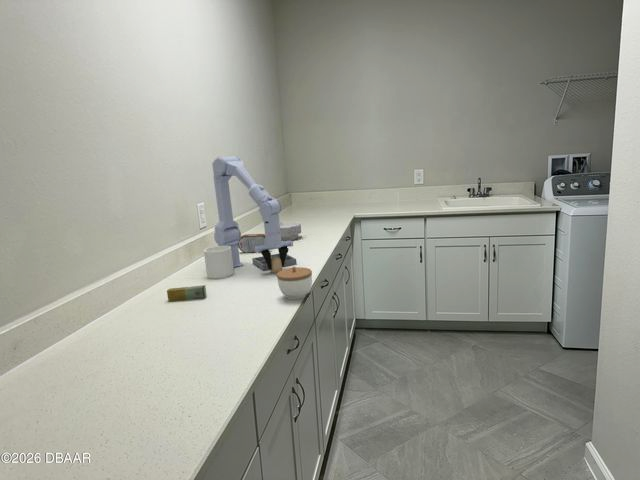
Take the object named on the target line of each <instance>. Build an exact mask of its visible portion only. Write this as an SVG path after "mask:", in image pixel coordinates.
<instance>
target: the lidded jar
mask: <svg viewBox="0 0 640 480" xmlns="http://www.w3.org/2000/svg"><path fill="white" fill-rule="evenodd" d="M312 275H313V271H312V269H311V268H307V267H300V266H299V267H298V266H297V267H296V266H292V267H288V268H284V269H282V270H281V271H279V272H278V273H276V277H277V283H278V284H277V285H278V288H279V291H280V293H281V294H282V295H283V296H285V297H286V299H288V300H292V301H293V300H294V301H295V300H302V299H304V298H306V297H307V295H308V294H309V293H310V291H311V288H312V285H313V284H312V283H313V276H312Z"/></svg>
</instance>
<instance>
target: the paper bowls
mask: <svg viewBox="0 0 640 480" xmlns="http://www.w3.org/2000/svg"><path fill="white" fill-rule="evenodd" d="M279 223H280V233H281V242H283V241H294V240H296V239H297V238H298V236H299V235H300V234H301V233H302V225H301V222H297V221H283V222H282V221H281V222H279Z"/></svg>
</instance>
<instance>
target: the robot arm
mask: <svg viewBox="0 0 640 480" xmlns="http://www.w3.org/2000/svg"><path fill="white" fill-rule="evenodd" d="M212 172H213V184H214V190H215V192H214V193H215V198H216V204H217V206H216V207H217V214H218V222H217V223H216V225H215V226H214V236H213V238H214V241H215V243H216V244H217V246H230V247H231V251H232V259H233V267H234V268H235V267H241V266H242V267H243V266H244V264H243V262H241V259H240V251H239V250H240V249H239V247H238V243H239V240H240V238H241V236H242V232H241V229H240V227H239V223H238V222H237V221H235V220H234V216H233V209H232V208H233V206H232V199H231V192H230V184H229V180H231V179H232V177H233V176H234V177H236V178H237V179H238V180H239V181H240V182H241V183H242V184H243V185H244V186H245V187H246V189H247V190H248V195H249V197H251V199H252V200H253V201H254V202H255V204H256V205H257V207H259V208H258V212H259V214H260V216H261V219H262V221H263V227H264V234H265V238H266V244H264V245H260V246H256V247H254V248H255V252H256V254H257V253H258V252H259V253H260V254H261V255H262V256H263V257H264V258H265V261H266V263H267V266H268V269H270V271H271V269H272V265H271V255H272V252H270V251H272V250H276V249H277V250H278V254H279V255H280V259H281V261H282V268H285V267H284V264H285V259H286V255H288V252H289V247H294V240H291V241H281V233H280V223H281V222H280V212H281V211H282V204H281V202H280V200H279V199H277V198H274V197H273V196H272V195H270V194H269V192H268V191H266V189H265V187H264V185H262V184H257V183H256V182H255V180H254V179H253V178H252V176H251V175H250V173H249V172H248V171H247V169H246V168H245V163H244V161H243V160H242V159H241V157H240V156H238V155H233V156H232V155H231V156H218V157H217V156H216V158H215V159H214V160H213V162H212Z"/></svg>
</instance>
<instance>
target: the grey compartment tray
mask: <svg viewBox="0 0 640 480" xmlns="http://www.w3.org/2000/svg"><path fill="white" fill-rule="evenodd" d="M275 256H277V257H279V258H280V255H279V253H274V254H271V258H272V257H275ZM251 259H252V264H253V265H254V266H256V267H257V268H258V269H260V270H261V271H263V272H265V271H269V270H270V269H268V266H267V263H266V261H265V258H264V257H263V255H262V256H259V257H258V256H257V257H252V258H251ZM294 265H295V266H296V265H298V263H297V258H295V257H294V256H292V255H289V254H287V255H286V259H285V264H284V267H283V268H285V267H290V266H294ZM270 271H271V270H270Z"/></svg>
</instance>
